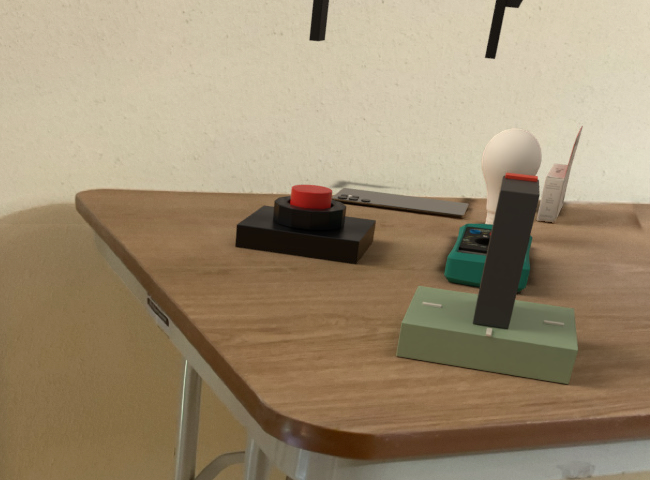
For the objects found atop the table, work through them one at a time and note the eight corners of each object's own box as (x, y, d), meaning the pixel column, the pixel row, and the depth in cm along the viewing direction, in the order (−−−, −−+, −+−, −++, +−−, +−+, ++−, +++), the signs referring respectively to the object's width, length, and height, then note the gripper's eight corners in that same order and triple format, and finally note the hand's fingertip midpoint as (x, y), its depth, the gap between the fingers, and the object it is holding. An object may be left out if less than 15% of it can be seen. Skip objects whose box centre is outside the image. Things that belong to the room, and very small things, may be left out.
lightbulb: (489, 245, 94) (513, 132, 88) (455, 231, 99) (476, 123, 93) (534, 243, 96) (560, 133, 90) (499, 229, 101) (522, 124, 95)
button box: (373, 242, 92) (378, 201, 90) (356, 265, 83) (362, 221, 81) (262, 226, 94) (265, 187, 92) (235, 247, 86) (237, 204, 84)
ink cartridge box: (535, 221, 106) (555, 132, 101) (543, 205, 115) (563, 123, 110) (556, 224, 105) (578, 135, 100) (563, 208, 114) (583, 125, 109)
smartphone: (463, 215, 104) (331, 195, 107) (462, 220, 104) (330, 200, 107) (468, 203, 110) (343, 185, 113) (468, 208, 110) (343, 189, 114)
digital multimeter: (527, 257, 91) (534, 228, 89) (524, 296, 78) (532, 262, 77) (456, 248, 92) (461, 218, 91) (441, 284, 80) (447, 251, 78)
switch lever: (508, 329, 62) (540, 190, 57) (472, 323, 62) (501, 185, 58) (510, 305, 67) (540, 176, 62) (476, 300, 67) (503, 171, 62)
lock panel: (565, 339, 69) (574, 305, 68) (568, 385, 61) (579, 348, 59) (413, 315, 71) (418, 283, 70) (395, 356, 63) (401, 320, 62)
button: (334, 206, 88) (336, 187, 87) (325, 214, 85) (328, 194, 84) (295, 201, 89) (296, 182, 88) (285, 208, 86) (287, 189, 85)
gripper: (649, -300, 59) (564, 62, 70) (284, -310, 63) (259, 32, 74) (665, -336, 52) (568, 68, 64) (259, -344, 57) (236, 34, 68)
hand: (402, 49), depth 69 cm, fingers open, 13 cm apart
